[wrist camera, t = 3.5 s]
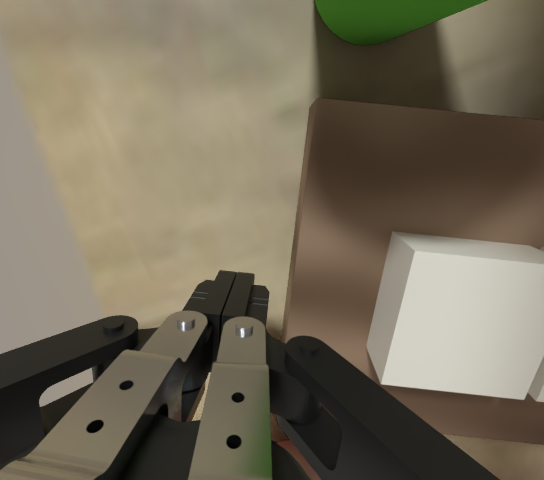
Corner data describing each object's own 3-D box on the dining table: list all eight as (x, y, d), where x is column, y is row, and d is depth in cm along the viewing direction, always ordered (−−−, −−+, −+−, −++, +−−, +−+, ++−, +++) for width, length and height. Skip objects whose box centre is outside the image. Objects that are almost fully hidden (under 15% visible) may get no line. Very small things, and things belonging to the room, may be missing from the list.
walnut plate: (309, 107, 16) (317, 97, 12) (704, 147, 16) (840, 149, 12) (277, 364, 21) (276, 415, 17) (577, 397, 21) (643, 455, 17)
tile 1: (392, 231, 13) (415, 250, 11) (529, 245, 13) (582, 268, 11) (366, 346, 15) (381, 384, 13) (487, 359, 15) (524, 399, 13)
